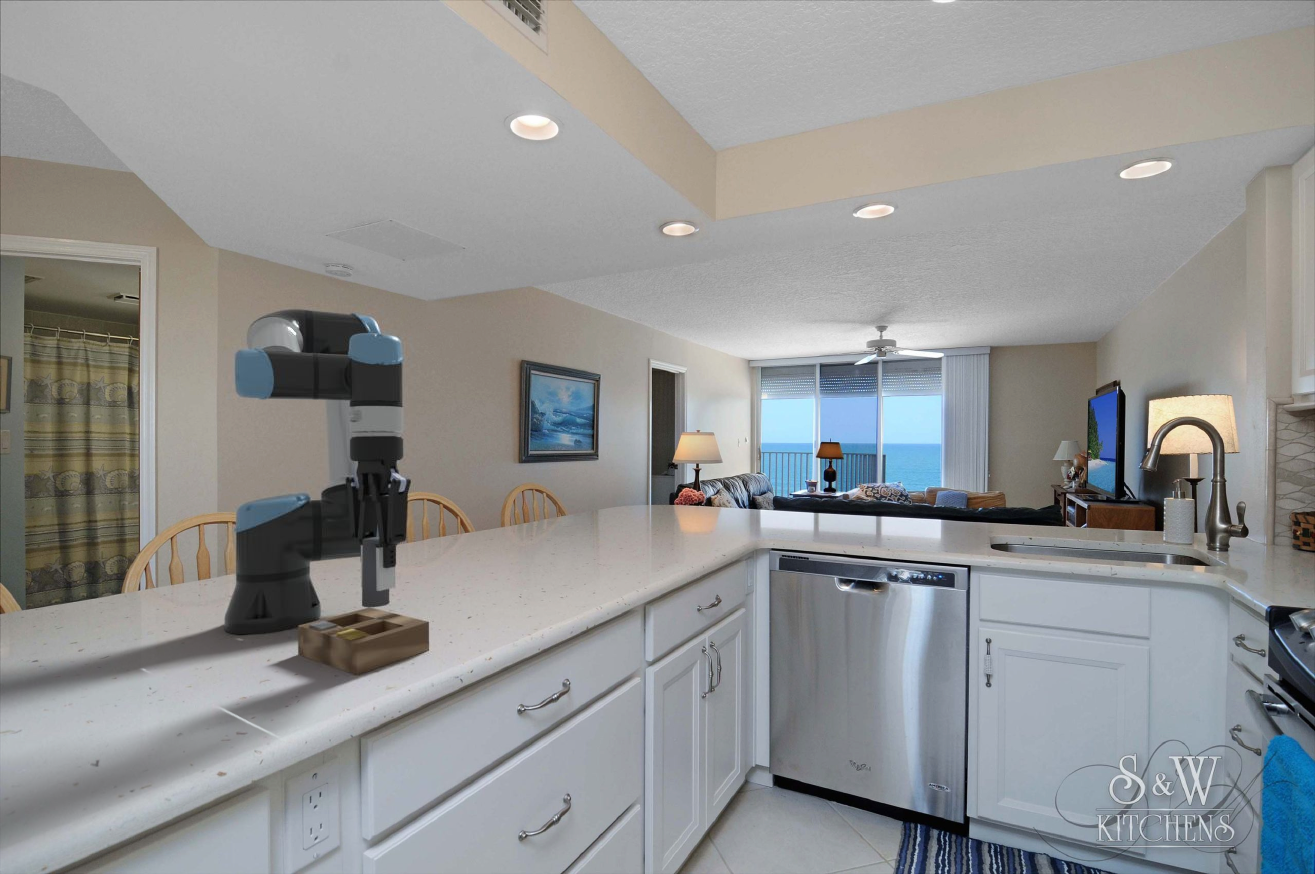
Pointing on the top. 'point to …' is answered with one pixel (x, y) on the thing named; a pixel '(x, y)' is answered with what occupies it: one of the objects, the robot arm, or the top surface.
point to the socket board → (363, 639)
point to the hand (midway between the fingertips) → (378, 587)
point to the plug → (371, 576)
